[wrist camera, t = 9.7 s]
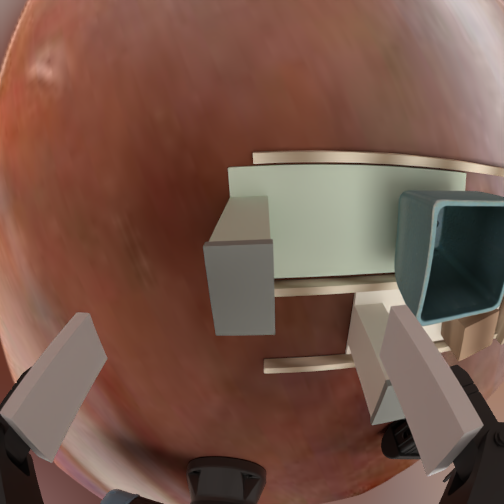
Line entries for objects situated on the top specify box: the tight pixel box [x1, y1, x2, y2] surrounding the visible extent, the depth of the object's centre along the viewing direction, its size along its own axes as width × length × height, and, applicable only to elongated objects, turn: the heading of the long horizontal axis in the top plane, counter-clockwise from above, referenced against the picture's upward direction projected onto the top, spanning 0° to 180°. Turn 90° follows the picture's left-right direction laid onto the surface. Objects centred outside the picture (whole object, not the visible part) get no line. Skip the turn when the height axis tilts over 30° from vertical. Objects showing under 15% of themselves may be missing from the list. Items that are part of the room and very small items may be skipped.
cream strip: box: [345, 289, 499, 425], centre depth 22 cm, size 22×8×11 cm, turn 93°
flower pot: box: [394, 190, 504, 326], centre depth 19 cm, size 9×9×9 cm
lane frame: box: [253, 151, 504, 373], centre depth 24 cm, size 33×22×3 cm
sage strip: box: [203, 164, 466, 335], centre depth 19 cm, size 22×10×11 cm, turn 93°
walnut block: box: [441, 308, 499, 361], centre depth 25 cm, size 5×5×5 cm
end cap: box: [381, 418, 421, 459], centre depth 34 cm, size 10×7×7 cm
